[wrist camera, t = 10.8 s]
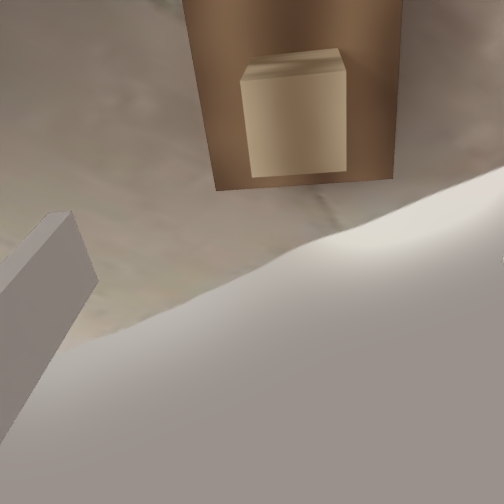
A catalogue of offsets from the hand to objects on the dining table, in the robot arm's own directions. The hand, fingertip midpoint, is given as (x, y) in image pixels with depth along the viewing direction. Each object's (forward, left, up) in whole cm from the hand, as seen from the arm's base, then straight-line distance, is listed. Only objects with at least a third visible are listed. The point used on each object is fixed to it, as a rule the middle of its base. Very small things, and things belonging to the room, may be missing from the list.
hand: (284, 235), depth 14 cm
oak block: (0, 0, -17) cm, 17 cm away
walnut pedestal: (0, 0, -22) cm, 22 cm away
